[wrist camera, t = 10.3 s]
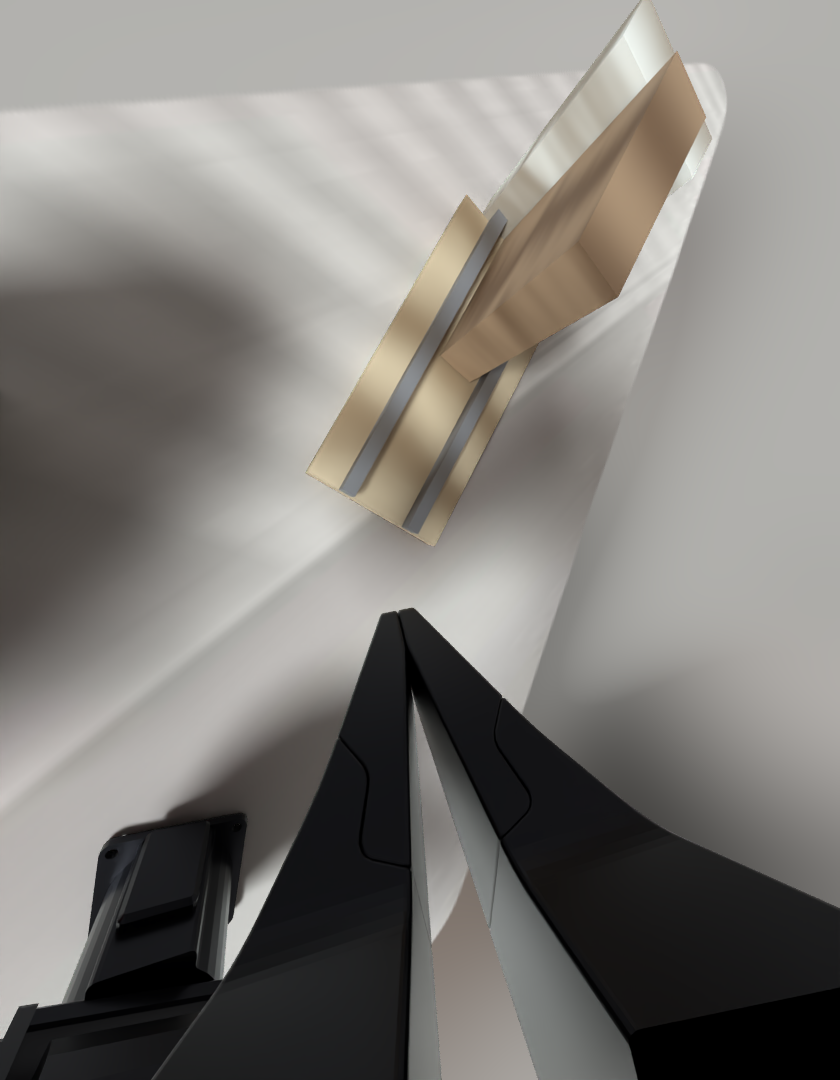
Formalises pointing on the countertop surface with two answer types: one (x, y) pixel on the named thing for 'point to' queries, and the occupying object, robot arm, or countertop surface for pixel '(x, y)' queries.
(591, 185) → the door
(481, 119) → the countertop surface
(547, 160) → the track
